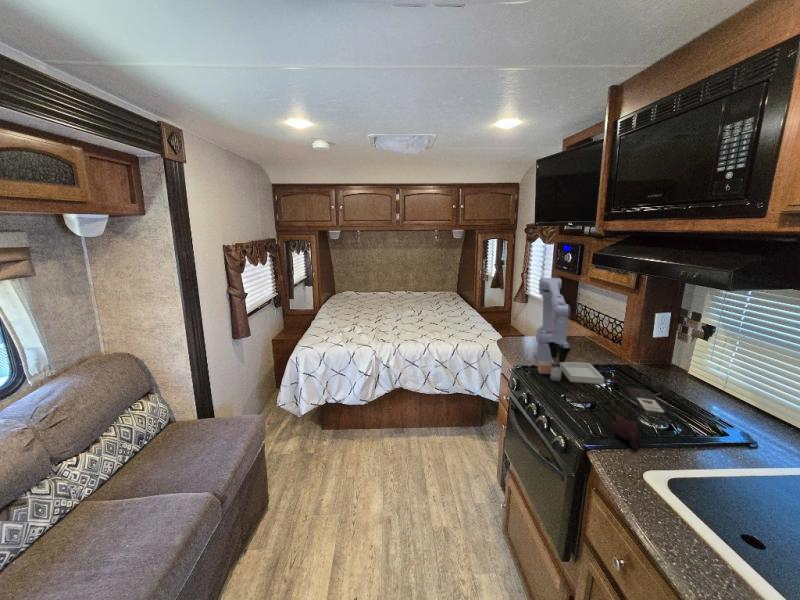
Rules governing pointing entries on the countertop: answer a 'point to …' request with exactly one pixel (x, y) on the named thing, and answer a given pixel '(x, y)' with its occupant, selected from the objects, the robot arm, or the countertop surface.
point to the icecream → (626, 430)
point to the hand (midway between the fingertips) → (557, 359)
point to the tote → (581, 372)
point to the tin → (555, 373)
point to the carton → (544, 367)
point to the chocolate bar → (646, 400)
